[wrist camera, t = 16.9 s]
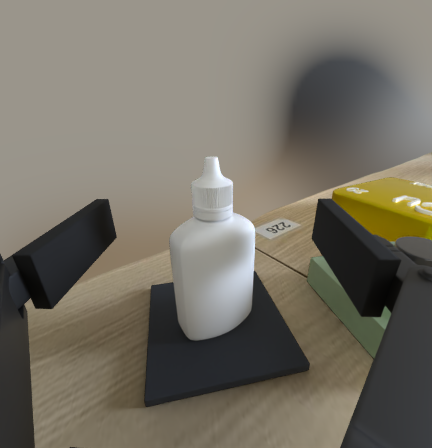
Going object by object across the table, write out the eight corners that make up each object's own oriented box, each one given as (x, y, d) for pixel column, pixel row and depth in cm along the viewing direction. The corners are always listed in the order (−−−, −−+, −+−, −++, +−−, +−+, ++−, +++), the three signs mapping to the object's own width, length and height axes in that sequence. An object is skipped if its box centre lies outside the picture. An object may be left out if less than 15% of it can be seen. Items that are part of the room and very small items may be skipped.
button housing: (397, 386, 14) (423, 332, 12) (306, 281, 23) (313, 239, 21) (537, 350, 16) (578, 298, 14) (403, 265, 25) (418, 226, 23)
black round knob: (420, 287, 16) (430, 265, 15) (377, 258, 19) (383, 238, 18) (464, 279, 17) (475, 258, 16) (415, 252, 20) (422, 233, 19)
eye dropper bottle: (182, 299, 20) (166, 152, 15) (248, 296, 20) (254, 150, 15) (175, 344, 16) (152, 167, 11) (257, 340, 17) (270, 163, 11)
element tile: (503, 234, 30) (522, 198, 28) (441, 268, 24) (460, 225, 22) (382, 200, 43) (390, 173, 41) (321, 217, 37) (327, 186, 35)
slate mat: (145, 407, 14) (144, 401, 13) (152, 290, 22) (151, 285, 22) (308, 370, 15) (310, 364, 15) (254, 275, 24) (254, 270, 24)
